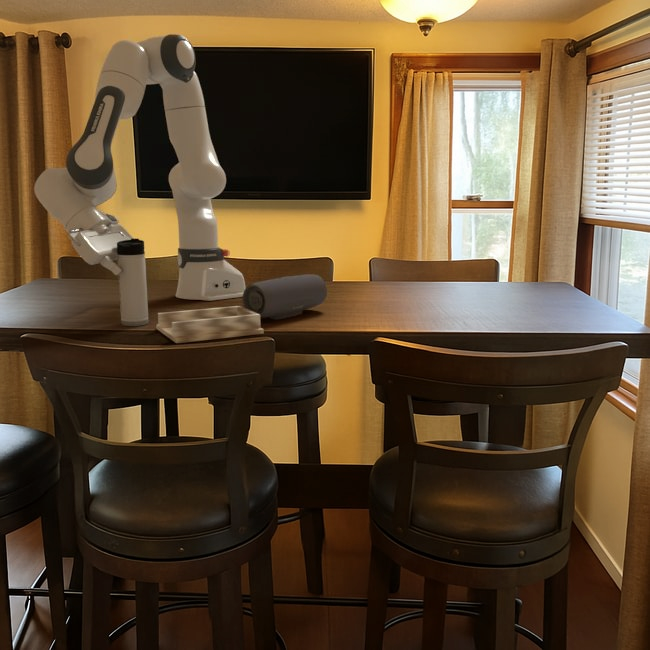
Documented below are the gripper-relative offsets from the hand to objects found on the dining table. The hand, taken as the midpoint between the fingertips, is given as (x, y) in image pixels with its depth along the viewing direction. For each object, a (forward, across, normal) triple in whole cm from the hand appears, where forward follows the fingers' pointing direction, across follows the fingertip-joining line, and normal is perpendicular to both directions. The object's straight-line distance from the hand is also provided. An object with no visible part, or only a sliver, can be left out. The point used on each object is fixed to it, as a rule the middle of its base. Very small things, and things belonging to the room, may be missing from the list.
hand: (129, 270), depth 162 cm
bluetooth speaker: (+33, +17, -14) cm, 40 cm away
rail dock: (+24, -4, -6) cm, 25 cm away
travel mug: (+10, 0, +9) cm, 13 cm away
